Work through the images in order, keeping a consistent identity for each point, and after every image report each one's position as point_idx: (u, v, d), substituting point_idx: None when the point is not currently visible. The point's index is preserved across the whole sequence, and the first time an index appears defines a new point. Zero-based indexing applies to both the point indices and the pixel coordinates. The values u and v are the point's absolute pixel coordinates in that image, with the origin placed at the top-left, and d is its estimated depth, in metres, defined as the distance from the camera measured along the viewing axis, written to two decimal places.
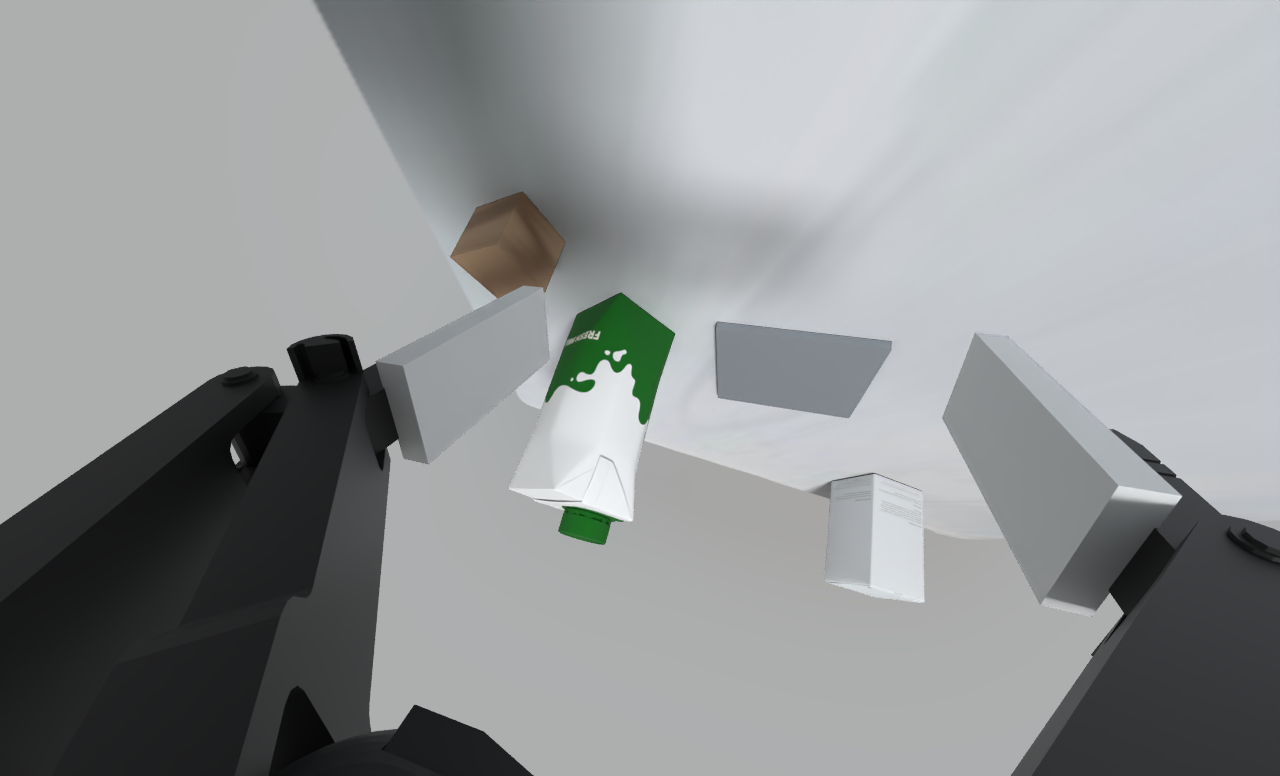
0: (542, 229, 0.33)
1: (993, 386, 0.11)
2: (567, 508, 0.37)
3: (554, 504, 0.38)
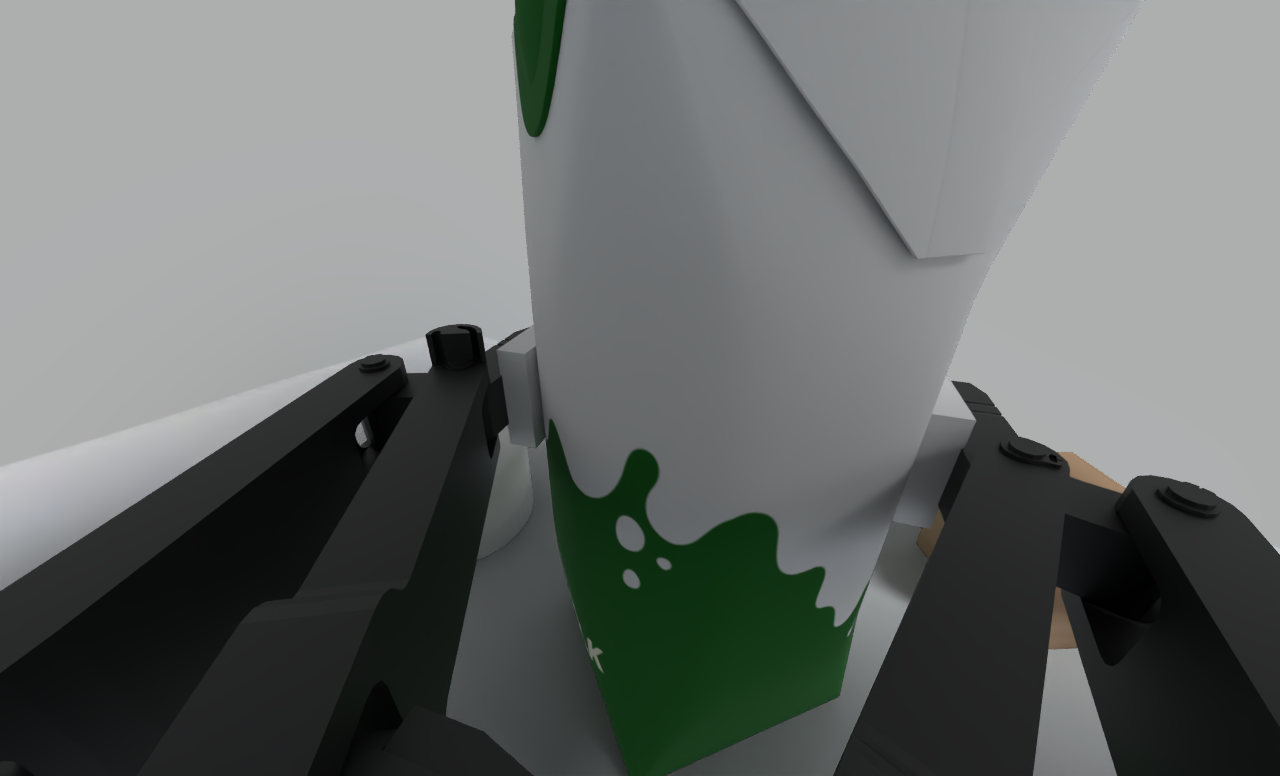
0: None
1: None
2: None
3: None
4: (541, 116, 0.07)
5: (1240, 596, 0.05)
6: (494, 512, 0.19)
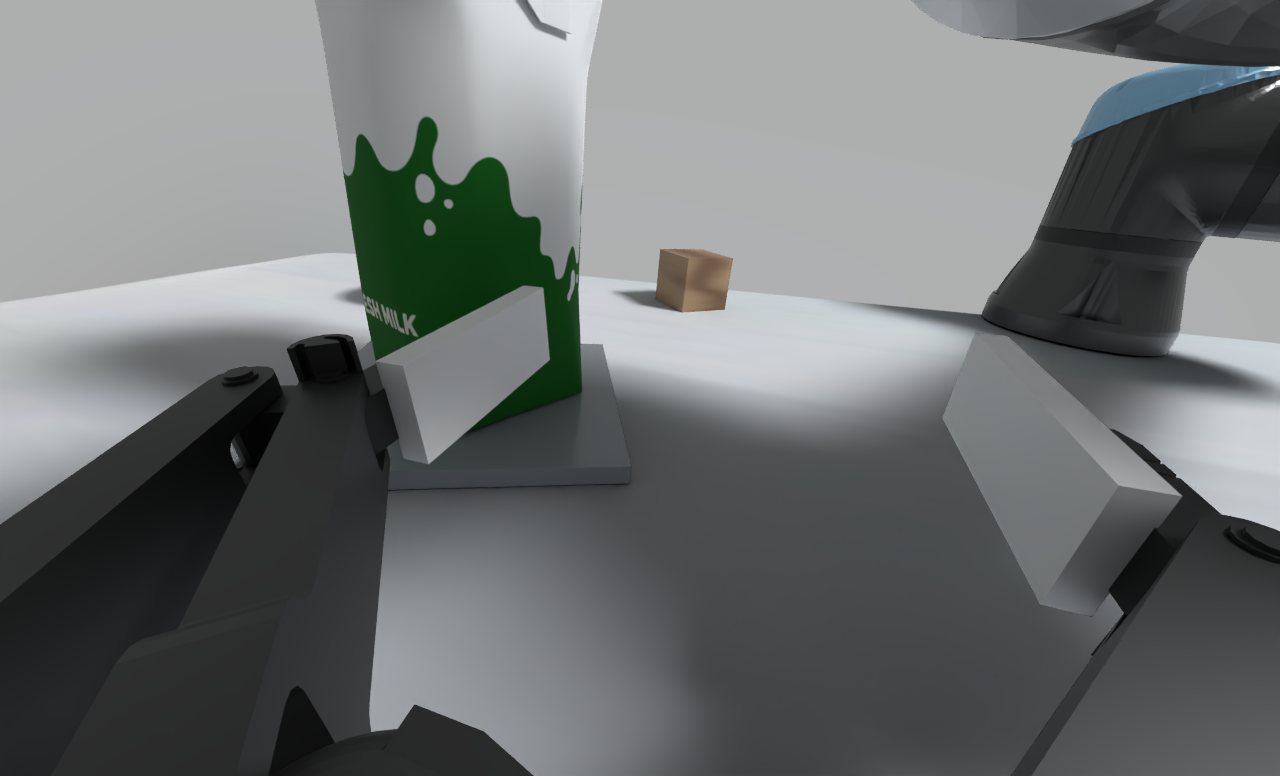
0: (703, 300, 0.43)
1: (992, 385, 0.11)
2: None
3: None
4: None
5: None
6: None
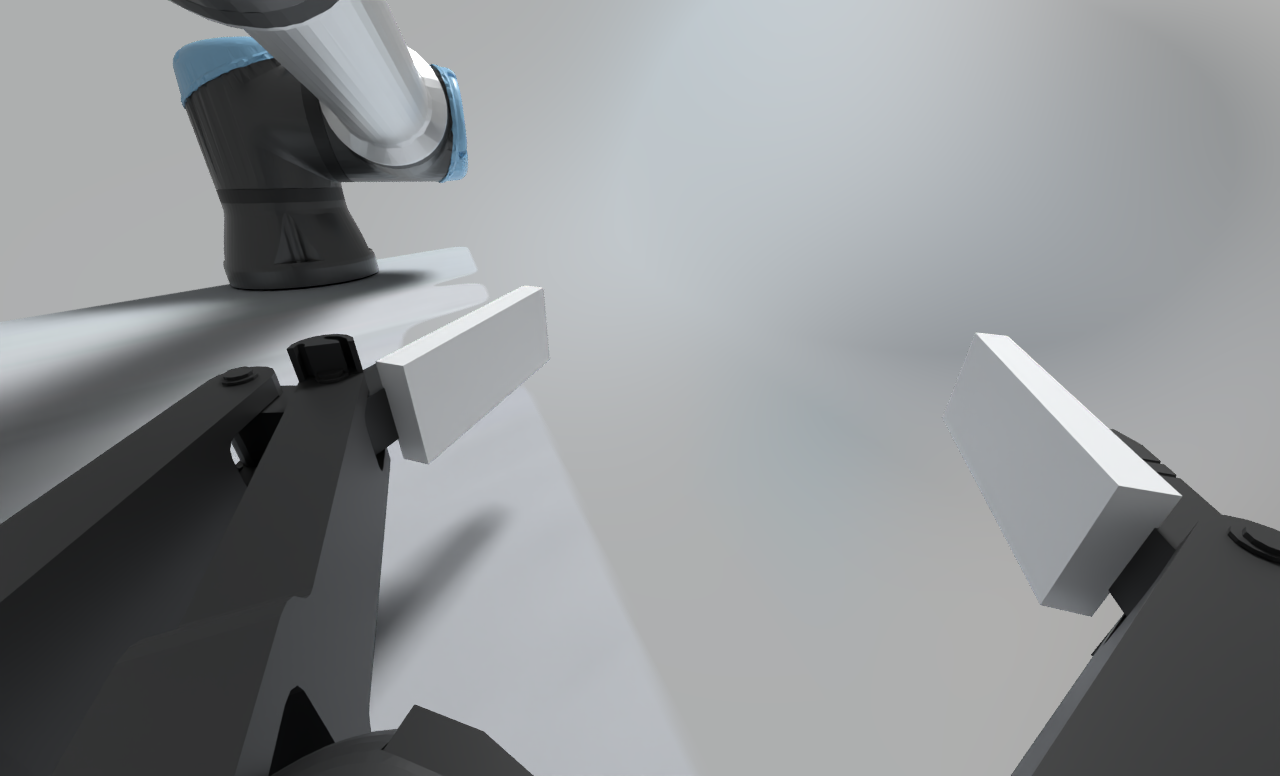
0: None
1: (993, 386, 0.11)
2: None
3: None
4: None
5: None
6: None
